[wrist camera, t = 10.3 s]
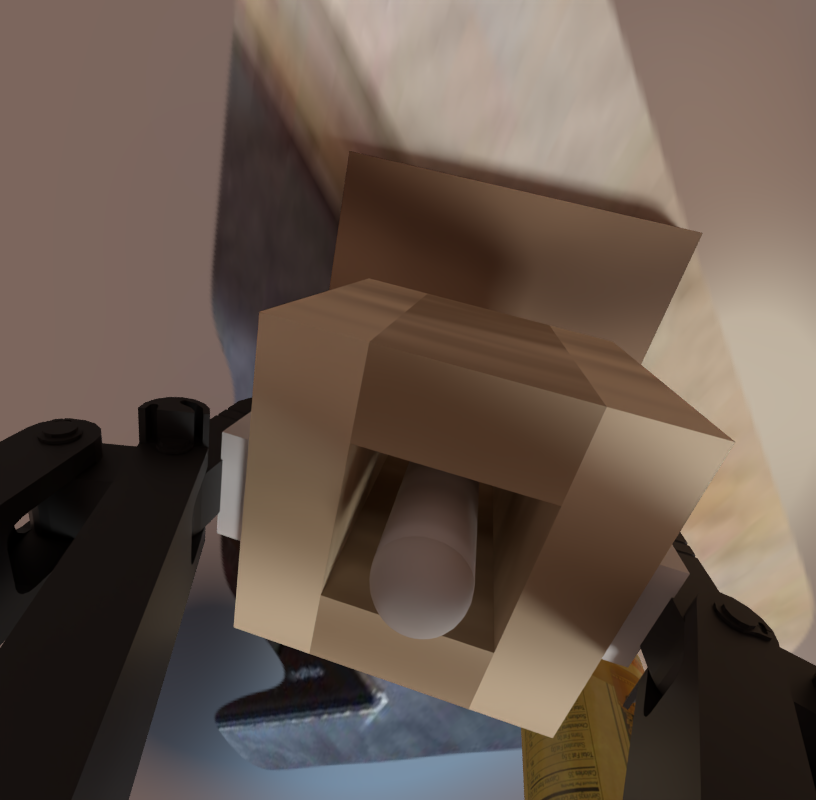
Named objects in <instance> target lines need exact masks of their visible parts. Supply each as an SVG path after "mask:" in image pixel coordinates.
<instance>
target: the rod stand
mask: <svg viewBox="0 0 816 800" xmlns="http://www.w3.org/2000/svg"><path fill="white" fill-rule="evenodd" d="M701 235H702V233H700V232H696V231H692V230H687V229H683V228H679V227H675V226H670V225H666V224H662V223H657V222H653V221H649V220H644V219H640V218H636V217H631V216H627V215H623V214H619V213H614V212H610V211H606V210H601V209H597V208H593V207H588V206H584V205H580V204H575V203H571V202H567V201H563V200H558V199H554V198H550V197H545V196H541V195H537V194H532V193H528V192H524V191H520V190H515V189H511V188H507V187H502V186H498V185H494V184H489V183H485V182H481V181H476V180H472V179H468V178H464V177H459V176H455V175H451V174H446V173H442V172H438V171H433V170H429V169H425V168H420V167H416V166H412V165H408V164H403V163H399V162H395V161H390V160H386V159H382V158H377V157H373V156H369V155H364V154H360V153H356V152H352V151H350V152H349V158H348V165H347V172H346V179H345V186H344V193H343V199H342V206H341V213H340V220H339V227H338V234H337V240H336V247H335V254H334V261H333V268H332V275H331V281H330V288H329V290H332V289H336V288H339V287H342V286H346V285H349V284H352V283H356V282H359V281H362V280H365V279H373V280H377V281H381V282H385V283H389V284H393V285H396V286H400V287H404V288H408V289H412V290H416V291H419V292H423V293H427V294H431V295H435V296H439V297H443V298H446V299H450V300H454V301H458V302H462V303H466V304H469V305H473V306H477V307H481V308H485V309H489V310H493V311H496V312H500V313H504V314H508V315H512V316H516V317H519V318H523V319H527V320H531V321H535V322H539V323H543V324H546V325H550V326H554V327H558V328H562V329H566V330H569V331H573V332H577V333H581V334H585V335H589V336H593V337H596V338H600V339H604V340H608V341H612V342H614V343H615V344H616V345H617V346H619V347H620V348H621V349H622V350H624V351H625V352H626V353H627V354H628V355H630V356H631V357H632V358H633V359H635V360H636V361H637V362H638V363H639V364H641V363H642V361H643V359H644V357H645V355H646V353H647V350H648V348H649V346H650V344H651V342H652V340H653V338H654V336H655V333H656V331H657V329H658V327H659V325H660V323H661V321H662V319H663V316H664V314H665V312H666V310H667V308H668V306H669V304H670V302H671V299H672V297H673V295H674V293H675V291H676V289H677V287H678V285H679V282H680V280H681V278H682V276H683V274H684V272H685V270H686V268H687V265H688V263H689V261H690V259H691V257H692V255H693V253H694V250H695V248H696V246H697V244H698V242H699V240H700V238H701ZM478 499H479V482H478V481H475V480H472V479H468V478H465V477H461V476H458V475H455V474H451V473H448V472H445V471H441V470H438V469H435V468H431V467H428V466H425V465H421V464H418V463H414V462H411V461H410V462H409V464H408V467H407V470H406V472H405V475H404V478H403V481H402V483H401V486H400V489H399V491H398V494H397V497H396V500H395V502H394V505H393V508H392V510H391V513H390V516H389V519H388V521H387V524H386V527H385V529H384V532H383V535H382V537H381V540H380V543H379V546H378V548H377V551H376V554H375V556H374V559H373V562H372V566H371V570H370V578H369V580H370V593H371V597H372V600H373V603H374V606H375V608H376V610H377V612H378V613H379V615H380V616H381V618H382V619H383V621H384V622H385V623H386V624H387V625H388V626H389V627H390V628H392V629H393V630H394V631H396V632H398V633H400V634H402V635H404V636H406V637H410V638H414V639H432V638H437V637H439V636H442V635H444V634H446V633H447V632H449V631H451V630H452V629H454V628H455V627H456V626H457V624H458V623H459V622H460V621H461V620H462V619H463V618H464V616H465V615H466V613H467V611H468V609H469V607H470V605H471V602H472V598H473V593H474V586H475V565H476V543H477V521H478Z"/></svg>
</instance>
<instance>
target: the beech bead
mask: <svg viewBox="0 0 816 800" xmlns="http://www.w3.org/2000/svg"><path fill="white" fill-rule="evenodd" d="M734 443H735V442H734V441H733V440H732V439H731V438H730V437H728V436H727V435H726V434H725V433H724V432H722V431H721V430H720V429H719V428H717V427H716V426H715V425H714V424H713V423H711V422H710V421H709V420H708V419H706V418H705V417H704V416H703V415H702V414H700V413H699V412H698V411H697V410H695V409H694V408H693V407H692V406H691V405H689V404H688V403H687V402H686V401H685V400H683V399H682V398H681V397H680V396H678V395H677V394H676V393H675V392H674V391H672V390H671V389H670V388H669V387H667V386H666V385H665V384H664V383H663V382H661V381H660V380H659V379H658V378H656V377H655V376H654V375H653V374H652V373H650V372H649V371H648V370H647V369H645V368H644V367H643V366H642V365H641V364H639V363H638V362H637V361H636V360H635V359H633V358H632V357H631V356H630V355H628V354H627V353H626V352H625V351H624V350H622V349H621V348H620V347H619V346H617V345H616V344H615V343H614V342H612V341H608V340H604V339H600V338H596V337H593V336H589V335H585V334H581V333H577V332H573V331H569V330H566V329H562V328H558V327H554V326H550V325H546V324H543V323H539V322H535V321H531V320H527V319H523V318H519V317H516V316H512V315H508V314H504V313H500V312H496V311H493V310H489V309H485V308H481V307H477V306H473V305H469V304H466V303H462V302H458V301H454V300H450V299H446V298H443V297H439V296H435V295H431V294H427V293H423V292H419V291H416V290H412V289H408V288H404V287H400V286H396V285H393V284H389V283H385V282H381V281H377V280H373V279H365V280H362V281H359V282H356V283H352V284H349V285H346V286H342V287H339V288H336V289H332V290H329V291H326V292H323V293H319V294H316V295H313V296H309V297H306V298H303V299H300V300H296V301H293V302H290V303H286V304H283V305H280V306H276V307H273V308H270V309H267V310H263V311H260V312H259V323H258V335H257V347H256V360H255V372H254V384H253V396H252V409H251V421H250V433H249V446H248V458H247V470H246V482H245V495H244V507H243V519H242V532H241V544H240V556H239V568H238V581H237V593H236V606H235V618H234V627H235V628H237V629H240V630H243V631H246V632H249V633H252V634H255V635H257V636H260V637H263V638H266V639H269V640H272V641H275V642H277V643H280V644H283V645H286V646H289V647H292V648H295V649H298V650H300V651H303V652H306V653H309V654H312V655H315V656H318V657H321V658H323V659H326V660H329V661H332V662H335V663H338V664H341V665H344V666H346V667H349V668H352V669H355V670H358V671H361V672H364V673H367V674H369V675H372V676H375V677H378V678H381V679H384V680H387V681H390V682H392V683H395V684H398V685H401V686H404V687H407V688H410V689H413V690H415V691H418V692H421V693H424V694H427V695H430V696H433V697H436V698H438V699H441V700H444V701H447V702H450V703H453V704H456V705H459V706H461V707H464V708H467V709H470V710H473V711H476V712H479V713H481V714H484V715H487V716H490V717H493V718H496V719H499V720H502V721H504V722H507V723H510V724H513V725H516V726H519V727H522V728H525V729H527V730H530V731H533V732H536V733H539V734H542V735H545V736H548V737H550V738H553V737H554V735H555V734H556V732H557V730H558V729H559V727H560V726H561V724H562V722H563V721H564V719H565V717H566V716H567V714H568V713H569V711H570V709H571V708H572V706H573V704H574V703H575V701H576V700H577V698H578V696H579V695H580V693H581V691H582V690H583V688H584V687H585V685H586V683H587V682H588V680H589V679H590V677H591V675H592V674H593V672H594V670H595V669H596V667H597V666H598V664H599V662H600V661H601V659H602V657H603V656H604V654H605V653H606V651H607V649H608V648H609V646H610V644H611V643H612V641H613V640H614V638H615V636H616V635H617V633H618V631H619V630H620V628H621V627H622V625H623V623H624V622H625V620H626V618H627V617H628V615H629V614H630V612H631V610H632V609H633V607H634V605H635V604H636V602H637V601H638V599H639V597H640V596H641V594H642V593H643V591H644V589H645V588H646V586H647V584H648V583H649V581H650V580H651V578H652V576H653V575H654V573H655V571H656V570H657V568H658V567H659V565H660V563H661V562H662V560H663V558H664V557H665V555H666V554H667V552H668V550H669V549H670V547H671V545H672V544H673V542H674V541H675V539H676V537H677V536H678V534H679V532H680V531H681V529H682V528H683V526H684V524H685V523H686V521H687V519H688V518H689V516H690V515H691V513H692V511H693V510H694V508H695V507H696V505H697V503H698V502H699V500H700V498H701V497H702V495H703V494H704V492H705V490H706V489H707V487H708V485H709V484H710V482H711V481H712V479H713V477H714V476H715V474H716V472H717V471H718V469H719V468H720V466H721V464H722V463H723V461H724V459H725V458H726V456H727V455H728V453H729V451H730V450H731V448H732V446H733V445H734ZM410 461H411V462H414V463H418V464H421V465H425V466H428V467H431V468H435V469H438V470H441V471H445V472H448V473H451V474H455V475H458V476H461V477H465V478H468V479H472V480H475V481H478V482H479V499H478V521H477V543H476V565H475V586H474V593H473V598H472V602H471V605H470V607H469V609H468V611H467V613H466V615H465V616H464V618H463V619H462V620H461V621H460V622H459V623H458V624H457V626H456V627H455V628H454V629H452V630H451V631H449V632H447V633H446V634H444V635H442V636H439V637H437V638H432V639H414V638H410V637H406V636H404V635H402V634H400V633H398V632H396V631H394V630H393V629H392V628H390V627H389V626H388V625H387V624H386V623H385V622H384V621H383V619H382V618H381V616H380V615H379V613H378V612H377V610H376V608H375V606H374V603H373V600H372V597H371V593H370V580H369V578H370V570H371V566H372V562H373V559H374V556H375V554H376V551H377V548H378V546H379V543H380V540H381V537H382V535H383V532H384V529H385V527H386V524H387V521H388V519H389V516H390V513H391V510H392V508H393V505H394V502H395V500H396V497H397V494H398V491H399V489H400V486H401V483H402V481H403V478H404V475H405V472H406V470H407V467H408V464H409V462H410Z"/></svg>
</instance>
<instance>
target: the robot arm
mask: <svg viewBox="0 0 816 800" xmlns="http://www.w3.org/2000/svg"><path fill="white" fill-rule="evenodd" d="M251 409H252V398H248V399H245V400H241V401H238V402H237V403H235V404H234V405H232V406H231V407H229V408H228V410H224V411H223V412H221V413H220V414H219V415H218V416H215V417H213V418H212V419H210V409H209V407H208V406H206V404H204V403H202V402H200V401H197V400H194V399H188V398H183V397H167V398H159V399H154V400H151V401H149V402H145V403H144V404H143V405H141V406H140V407H138V418H139V444H138V446H137V447H136V446H124V445H114V444H103V443H102V437H101V428H100V427H98V426H97V425H96V424H95V423H92V422H89V421H86V420H77V419H70V418H69V419H68V418H65V419H54V420H52V421H47V422H42V423H38V424H35V425H33V426H30V427H28V428H26V429H24V430H22V431H20V432H18V433H16V434H14V435H12V436H10V437H8V438H6V439H5V440H3V441H1V442H0V645H1V644H2V643H3V642H4V641H5V642H4V643H3V645H2V646H1V648H0V800H129V796H130V793H131V790H132V786H133V783H134V779H135V776H136V773H137V769H138V766H139V762H140V759H141V755H142V752H143V749H144V746H145V742H146V739H147V735H148V732H149V728H150V725H151V722H152V718H153V715H154V712H155V708H156V705H157V701H158V698H159V695H160V691H161V687H162V684H163V681H164V677H165V674H166V671H167V667H168V664H169V661H170V657H171V654H172V650H173V647H174V643H175V640H176V637H177V633H178V630H179V627H180V623H181V620H182V616H183V613H184V610H185V606H186V603H187V599H188V596H189V593H190V589H191V586H192V583H193V579H194V576H195V572H196V569H197V565H198V562H199V559H200V555H201V552H202V548H203V545H204V542H205V526H206V525H207V524H208V523H209V522H210V521H211V520H212V519H213V518H214V517H215V516H216V515H217V514H218V522H217V533H218V534H221V535H224V536H228V537H231V538H234V539H237V540H240V541H241V532H242V519H243V507H244V495H245V482H246V470H247V458H248V446H249V433H250V421H251ZM27 513H29V518H30V521H29V522H27V523H26V524H25V525H23V526H22V527H20V528H19V529H17V530H16V529H15V527H14V525H15V524H16V523H17V522H18V521H19V520H20V519H21V518H22V517H23V516H24V515H25V514H27ZM640 649H641V650H642V653H643V656H644V658H645V661H646V664H647V666H648V668H647V669H646V670H645V672H644V673H643V675H642V676H641V678H640V679H639V681H638V682H637V684H636V685H635V687H634V688H633V689H632V691H631V692H630V694H629V695H628V697H627V698H626V700H625V702H624V704H623V707H624V708H626V709H627V710H628V709H629V708H630V706H631V705H632V703H635V702H636V703H635V710H634V718H633V725H632V733H631V740H630V748H629V755H628V762H627V770H626V777H625V785H624V792H623V800H816V666H815V665H813V664H811V663H809V662H807V661H805V660H804V659H801V658H800V657H798V656H796V655H794V654H792V653H790V652H788V651H786V650H784V649H782V648H780V646H779V642H778V640H777V638H776V636H775V634H774V632H773V631H772V629H771V628H770V627H769V626H768V625H767V624H766V623H765V622H764V620H763V619H762V618H761V617H759V616H758V615H757V614H756V613H754V612H753V611H752V610H751V609H750V608H748V607H747V606H745V605H744V604H742V603H740V602H739V601H737V600H736V599H734V598H732V597H730V596H727V595H725V594H722V593H720V592H719V590H718V589H717V587H716V586H715V584H714V583H713V581H712V580H711V578H710V577H709V575H708V574H707V572H706V571H705V569H704V568H703V566H702V565H701V563H700V562H699V560H698V558H695V554H694V552H693V551H692V549H691V548H690V546H687V542H686V540H685V539H684V537H683V536H682V534H681V533H680V532H679V534H678V536H677V537H676V539H675V541H674V542H673V544H672V545H671V547H670V549H669V550H668V552H667V554H666V555H665V557H664V558H663V560H662V562H661V563H660V565H659V567H658V568H657V570H656V571H655V573H654V575H653V576H652V578H651V580H650V581H649V583H648V584H647V586H646V588H645V589H644V591H643V593H642V594H641V596H640V597H639V599H638V601H637V602H636V604H635V605H634V607H633V609H632V610H631V612H630V614H629V615H628V617H627V618H626V620H625V622H624V623H623V625H622V627H621V628H620V630H619V631H618V633H617V635H616V636H615V638H614V640H613V641H612V643H611V644H610V646H609V648H608V649H607V651H606V653H605V654H604V656H603V657H602V659H603V660H606V661H609V662H612V663H615V664H618V665H622V666H625V667H629V666H630V664H631V663H632V661H633V659H634V658H635V656H636V655H637V653H638V652H639V650H640Z"/></svg>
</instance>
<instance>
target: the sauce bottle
mask: <svg viewBox="0 0 816 800" xmlns="http://www.w3.org/2000/svg"><path fill="white" fill-rule="evenodd" d="M643 673H644V669H643V666H642V663H641V661H640V658H639V657H638V655H636V656H635V658H634V659H633V661H632V663H631V664H630V666H629V667H625V666H622V665H618V664H615V663H612V662H609V661H606V660H603V659H601V661H600V662H599V664H598V666H597V667H596V669H595V670H594V672H593V674H592V675H591V677H590V679H589V680H588V682H587V683H586V685H585V687H584V688H583V690H582V691H581V693H580V695H579V696H578V698H577V700H576V701H575V703H574V704H573V706H572V708H571V709H570V711H569V713H568V714H567V716H566V717H565V719H564V721H563V722H562V724H561V726H560V727H559V729H558V730H557V732H556V734H555V735H554V737H553V738H550V737H548V736H545V735H542V734H539V733H536V732H533V731H530V730H527V729H525V728H522V727H521V735H522V754H523V755H522V756H523V776H524V797H525V800H623V792H624V785H625V777H626V770H627V762H628V755H629V748H630V740H631V733H632V725H633V718H634V710H635V703H636V702H635V703H632V705H631V706H630V708H629V709H628V710H627V709H626V708H624V707H623V704H624V702H625V700H626V698H627V697H628V695H629V694H630V692H631V691H632V689H633V688H634V687H635V685H636V684H637V682H638V681H639V679H640V678H641V676H642V675H643Z"/></svg>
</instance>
